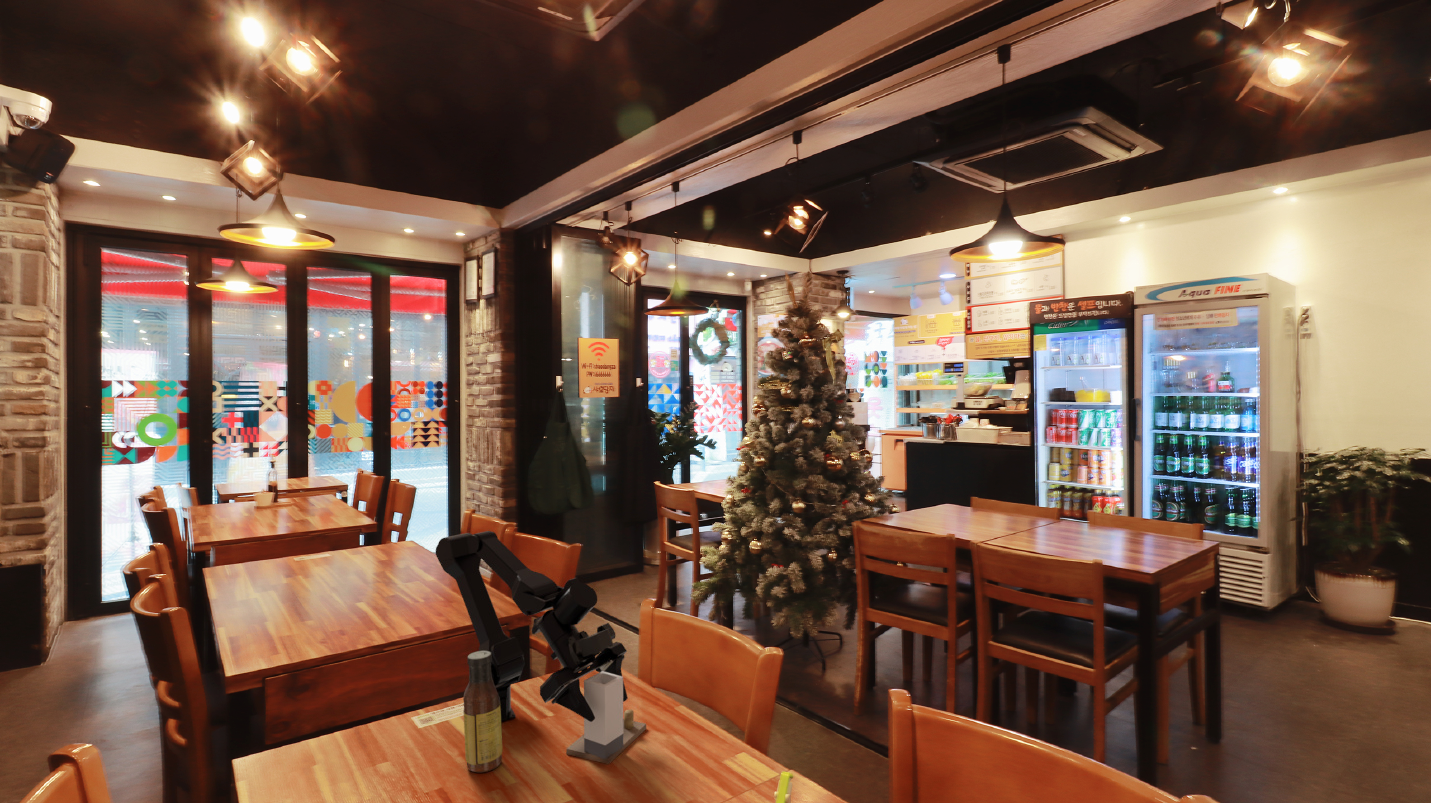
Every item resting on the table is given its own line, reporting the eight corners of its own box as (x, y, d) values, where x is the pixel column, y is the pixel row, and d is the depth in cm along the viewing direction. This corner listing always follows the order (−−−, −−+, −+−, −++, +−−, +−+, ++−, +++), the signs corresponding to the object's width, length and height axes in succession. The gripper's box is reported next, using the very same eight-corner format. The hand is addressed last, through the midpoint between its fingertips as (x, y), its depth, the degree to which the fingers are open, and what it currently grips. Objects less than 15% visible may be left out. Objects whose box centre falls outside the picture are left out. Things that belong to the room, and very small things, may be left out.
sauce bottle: (507, 756, 126) (507, 648, 125) (493, 775, 119) (492, 661, 119) (473, 755, 126) (472, 647, 126) (457, 773, 120) (456, 660, 120)
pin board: (566, 754, 127) (566, 732, 127) (606, 720, 139) (606, 700, 139) (608, 764, 123) (608, 741, 123) (646, 728, 136) (646, 708, 136)
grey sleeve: (584, 751, 125) (583, 680, 125) (602, 739, 130) (602, 671, 130) (605, 759, 123) (604, 686, 123) (623, 747, 127) (623, 676, 127)
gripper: (551, 628, 120) (600, 706, 114) (619, 600, 136) (665, 667, 131) (519, 664, 124) (565, 741, 119) (588, 633, 140) (632, 699, 135)
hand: (610, 710), depth 126 cm, fingers open, 9 cm apart
